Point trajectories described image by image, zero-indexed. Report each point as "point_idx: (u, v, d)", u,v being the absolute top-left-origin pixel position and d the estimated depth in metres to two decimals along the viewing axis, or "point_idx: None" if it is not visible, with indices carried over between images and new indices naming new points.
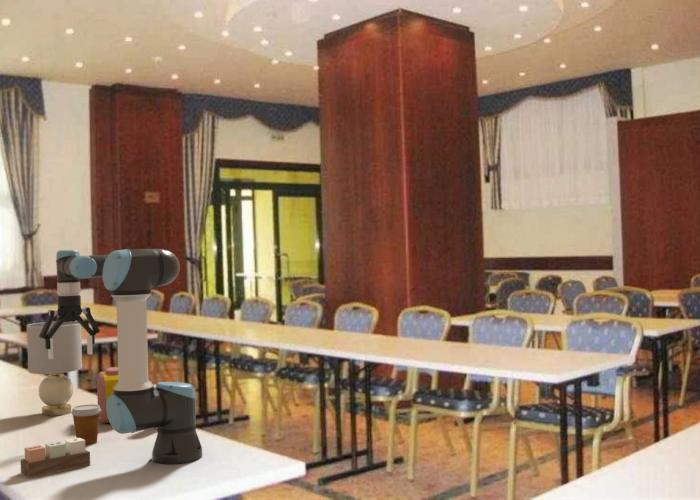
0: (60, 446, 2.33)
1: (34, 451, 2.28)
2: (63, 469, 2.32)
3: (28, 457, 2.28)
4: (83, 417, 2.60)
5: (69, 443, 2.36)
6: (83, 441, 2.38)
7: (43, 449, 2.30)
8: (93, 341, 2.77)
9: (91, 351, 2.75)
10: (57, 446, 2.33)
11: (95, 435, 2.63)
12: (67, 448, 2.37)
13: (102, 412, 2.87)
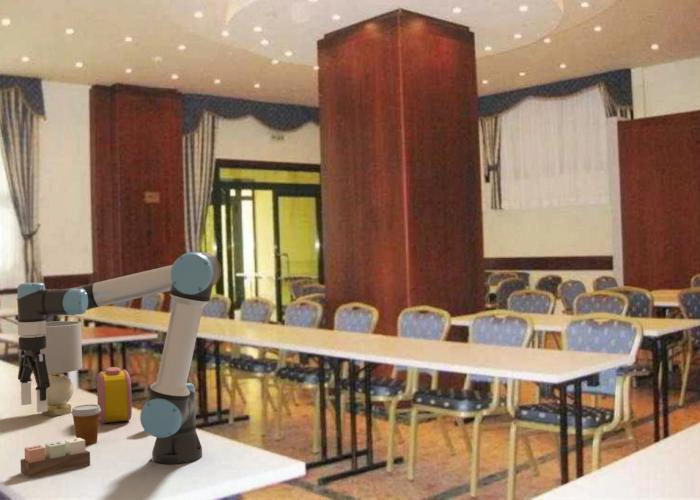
0: (60, 446, 2.33)
1: (34, 451, 2.28)
2: (63, 469, 2.32)
3: (28, 457, 2.28)
4: (83, 417, 2.60)
5: (69, 443, 2.36)
6: (83, 441, 2.38)
7: (43, 449, 2.30)
8: (40, 397, 2.25)
9: (37, 408, 2.25)
10: (57, 446, 2.33)
11: (95, 435, 2.63)
12: (67, 448, 2.37)
13: (102, 412, 2.87)
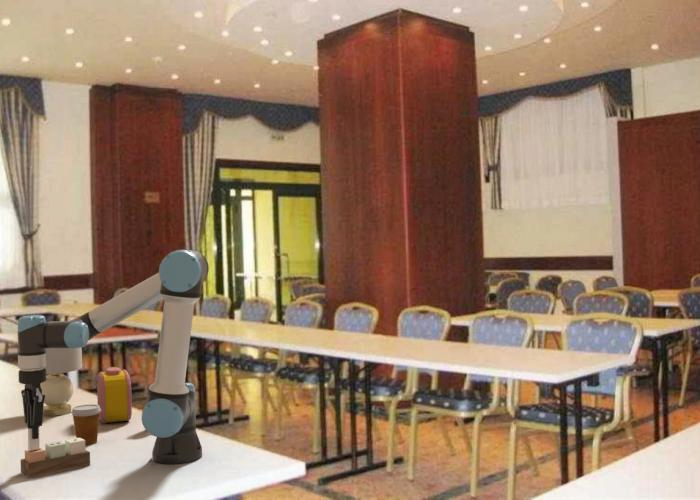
0: (60, 446, 2.33)
1: (34, 454, 2.28)
2: (63, 469, 2.32)
3: (28, 460, 2.28)
4: (83, 417, 2.60)
5: (69, 443, 2.36)
6: (83, 441, 2.38)
7: (43, 452, 2.30)
8: (33, 435, 2.29)
9: (29, 446, 2.29)
10: (57, 446, 2.33)
11: (95, 435, 2.63)
12: (67, 448, 2.37)
13: (102, 412, 2.87)
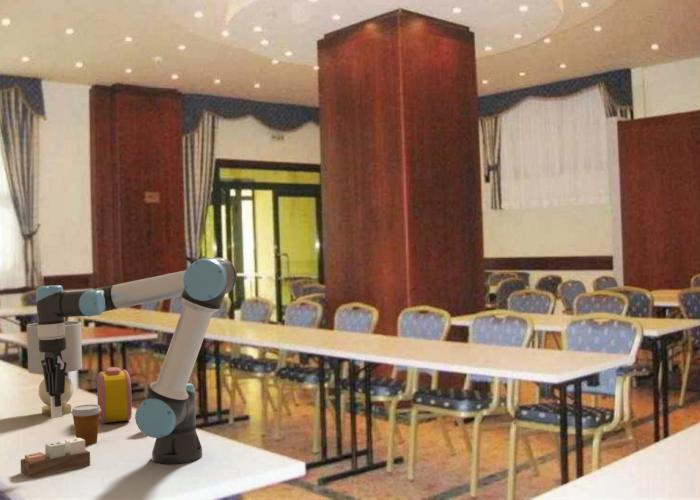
0: (60, 446, 2.33)
1: (34, 458, 2.28)
2: (63, 469, 2.32)
3: None
4: (83, 417, 2.60)
5: (69, 443, 2.36)
6: (83, 441, 2.38)
7: (43, 456, 2.30)
8: (55, 403, 2.32)
9: (52, 414, 2.33)
10: (57, 446, 2.33)
11: (95, 435, 2.63)
12: (67, 448, 2.37)
13: (102, 412, 2.87)
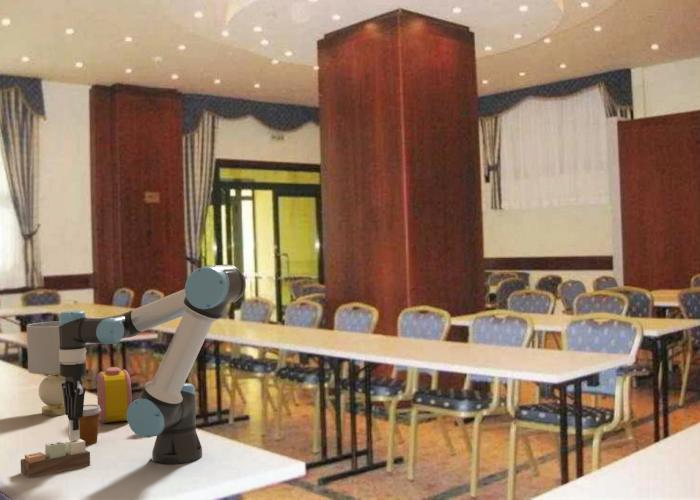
0: (60, 446, 2.33)
1: (34, 458, 2.28)
2: (63, 469, 2.32)
3: None
4: (83, 417, 2.60)
5: (69, 444, 2.36)
6: (83, 442, 2.38)
7: (43, 456, 2.30)
8: (73, 427, 2.37)
9: (70, 437, 2.37)
10: (57, 446, 2.33)
11: (95, 435, 2.63)
12: (67, 449, 2.37)
13: (102, 412, 2.87)
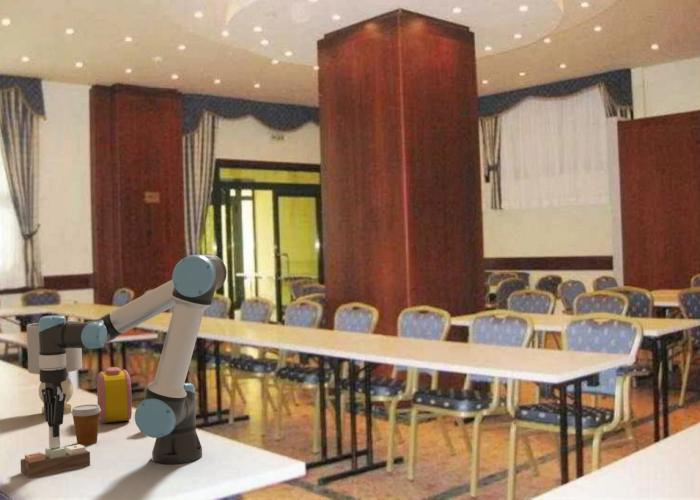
0: (60, 451, 2.33)
1: (34, 458, 2.28)
2: (63, 469, 2.32)
3: None
4: (83, 417, 2.60)
5: (69, 450, 2.36)
6: (83, 448, 2.38)
7: (43, 456, 2.30)
8: (53, 434, 2.33)
9: (50, 444, 2.33)
10: (57, 451, 2.33)
11: (95, 435, 2.63)
12: None
13: (102, 412, 2.87)
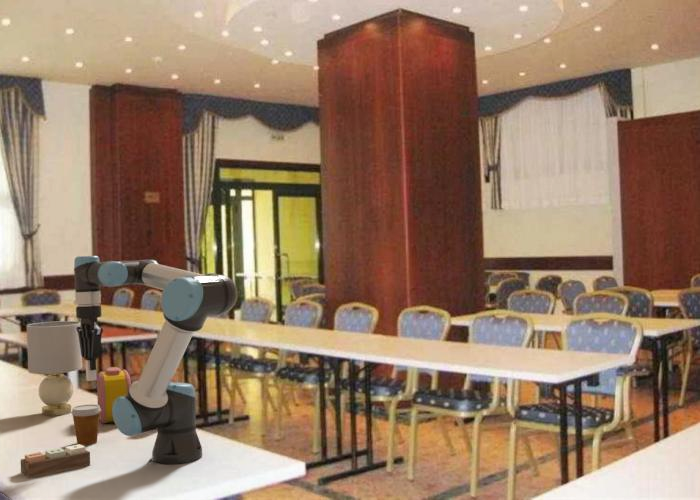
0: (60, 453, 2.33)
1: (34, 458, 2.28)
2: (63, 469, 2.32)
3: None
4: (83, 417, 2.60)
5: (69, 450, 2.36)
6: (83, 448, 2.38)
7: (43, 456, 2.30)
8: (91, 367, 2.46)
9: (87, 377, 2.46)
10: (57, 453, 2.33)
11: (95, 435, 2.63)
12: None
13: (102, 412, 2.87)
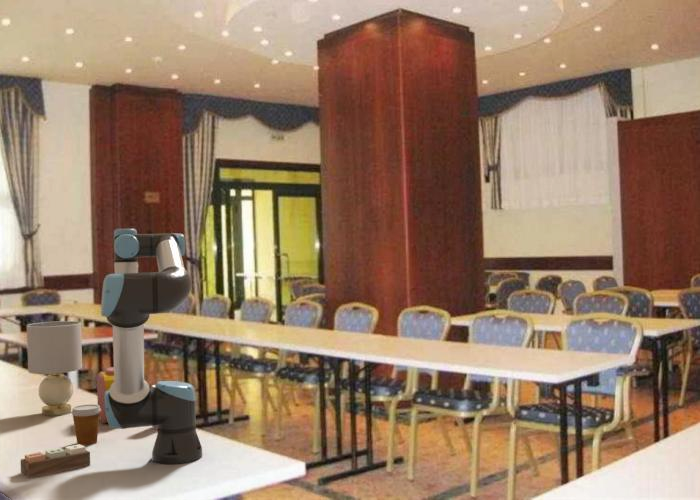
0: (60, 453, 2.33)
1: (34, 458, 2.28)
2: (63, 469, 2.32)
3: None
4: (83, 417, 2.60)
5: (69, 450, 2.36)
6: (83, 448, 2.38)
7: (43, 456, 2.30)
8: None
9: None
10: (57, 453, 2.33)
11: (95, 435, 2.63)
12: None
13: (102, 412, 2.87)
